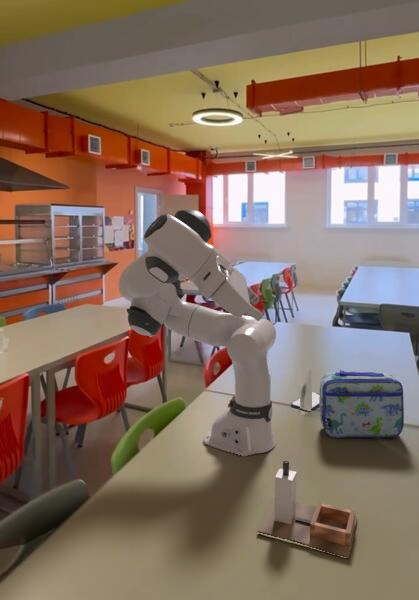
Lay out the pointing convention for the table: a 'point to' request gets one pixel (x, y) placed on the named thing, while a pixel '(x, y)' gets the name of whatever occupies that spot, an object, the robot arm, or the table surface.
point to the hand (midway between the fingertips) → (259, 309)
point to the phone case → (314, 401)
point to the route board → (315, 527)
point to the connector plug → (285, 494)
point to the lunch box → (361, 404)
